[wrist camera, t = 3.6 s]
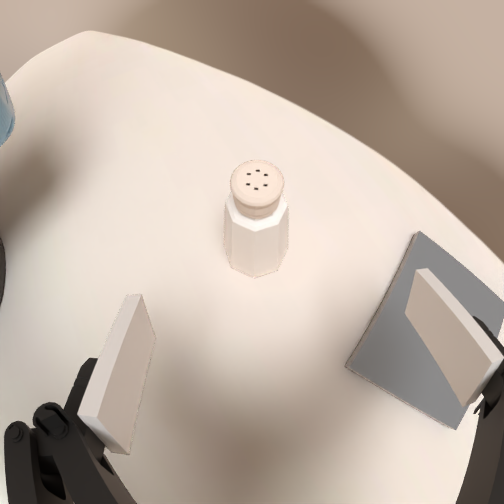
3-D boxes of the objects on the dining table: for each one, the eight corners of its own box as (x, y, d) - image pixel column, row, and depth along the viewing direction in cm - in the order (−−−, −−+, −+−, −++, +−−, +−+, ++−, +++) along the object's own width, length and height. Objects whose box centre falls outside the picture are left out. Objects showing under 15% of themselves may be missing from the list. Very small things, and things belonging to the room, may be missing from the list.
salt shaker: (286, 280, 25) (310, 232, 14) (221, 276, 25) (197, 225, 14) (288, 220, 26) (308, 142, 16) (226, 216, 26) (211, 137, 16)
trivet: (344, 366, 22) (348, 367, 21) (413, 235, 26) (419, 230, 25) (449, 427, 20) (455, 430, 19) (500, 307, 23) (507, 305, 22)
